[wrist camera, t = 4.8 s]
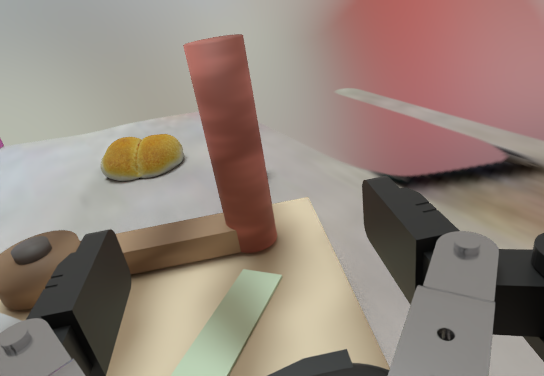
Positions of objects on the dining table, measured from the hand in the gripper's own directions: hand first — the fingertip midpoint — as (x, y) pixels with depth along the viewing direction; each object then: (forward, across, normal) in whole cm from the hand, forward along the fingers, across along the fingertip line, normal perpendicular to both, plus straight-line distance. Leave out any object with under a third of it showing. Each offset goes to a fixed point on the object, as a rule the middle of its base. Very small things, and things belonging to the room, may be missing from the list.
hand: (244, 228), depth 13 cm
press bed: (+7, +8, +10) cm, 14 cm away
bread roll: (+33, +11, +10) cm, 36 cm away
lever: (+10, +7, +7) cm, 14 cm away
